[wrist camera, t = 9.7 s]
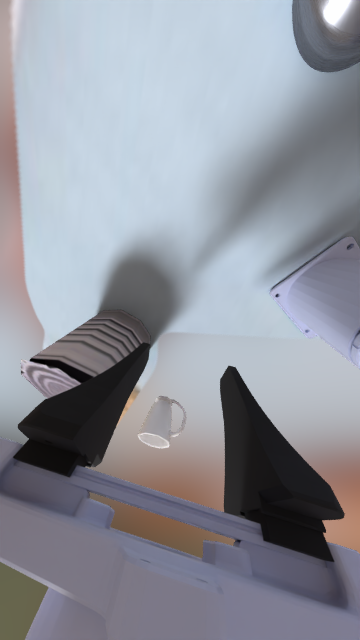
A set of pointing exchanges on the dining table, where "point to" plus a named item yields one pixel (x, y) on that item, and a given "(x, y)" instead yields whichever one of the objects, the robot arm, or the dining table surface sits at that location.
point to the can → (85, 352)
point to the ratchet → (327, 33)
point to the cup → (160, 424)
